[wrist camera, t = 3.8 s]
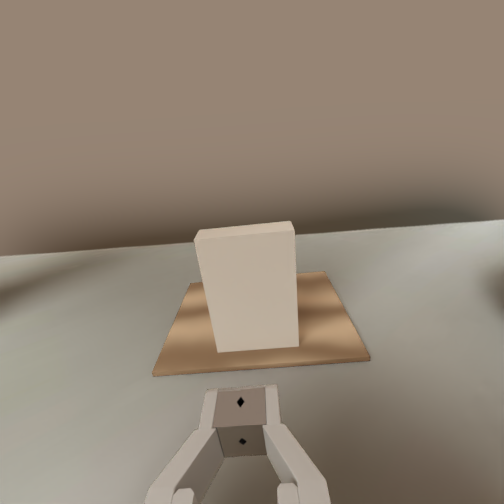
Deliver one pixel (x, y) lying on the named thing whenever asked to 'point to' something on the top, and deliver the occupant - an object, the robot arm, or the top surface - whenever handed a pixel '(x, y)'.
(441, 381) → the top surface
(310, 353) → the wooden board
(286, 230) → the tile
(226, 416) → the robot arm
